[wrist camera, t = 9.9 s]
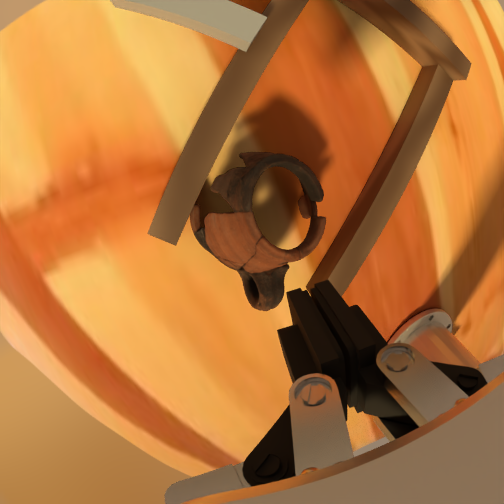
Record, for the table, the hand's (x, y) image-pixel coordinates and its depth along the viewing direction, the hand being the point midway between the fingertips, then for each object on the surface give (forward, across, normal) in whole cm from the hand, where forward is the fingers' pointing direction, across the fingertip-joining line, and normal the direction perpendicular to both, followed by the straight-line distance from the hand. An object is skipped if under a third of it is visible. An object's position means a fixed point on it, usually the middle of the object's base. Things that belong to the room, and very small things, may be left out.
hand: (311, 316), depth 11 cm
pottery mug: (+15, +1, 0) cm, 15 cm away
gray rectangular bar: (+12, +1, -17) cm, 21 cm away
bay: (+15, -7, -6) cm, 17 cm away
